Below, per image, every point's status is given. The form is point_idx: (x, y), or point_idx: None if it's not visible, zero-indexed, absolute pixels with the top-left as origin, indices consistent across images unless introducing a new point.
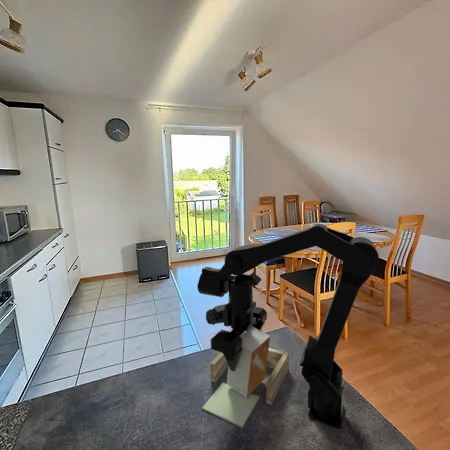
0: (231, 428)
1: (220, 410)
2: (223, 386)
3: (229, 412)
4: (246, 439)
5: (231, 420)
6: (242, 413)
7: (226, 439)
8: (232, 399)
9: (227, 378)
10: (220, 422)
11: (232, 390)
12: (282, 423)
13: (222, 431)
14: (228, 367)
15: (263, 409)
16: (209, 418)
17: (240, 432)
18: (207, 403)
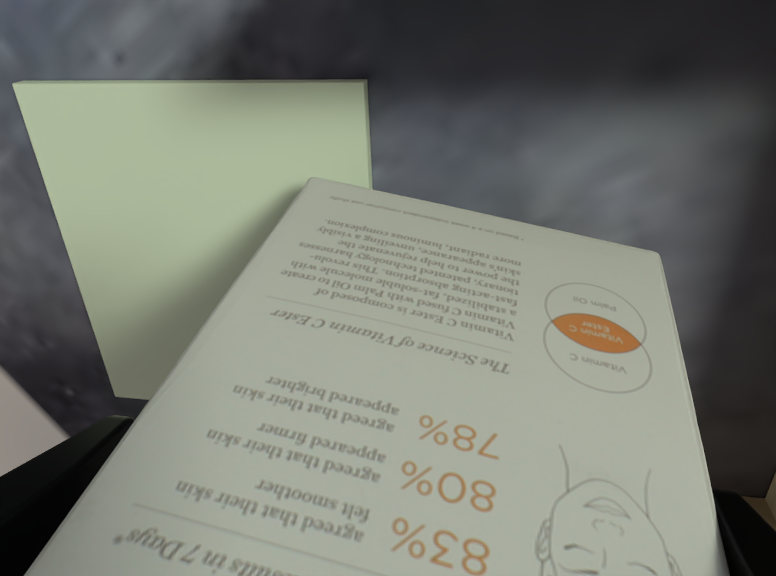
0: (74, 338)
1: (102, 231)
2: (319, 122)
3: (131, 297)
4: (86, 424)
5: (97, 330)
6: None
7: (7, 341)
8: (241, 266)
9: (279, 220)
10: (53, 264)
11: None
12: None
13: (21, 302)
14: (204, 325)
15: None
16: (16, 181)
17: (93, 388)
18: (70, 98)
